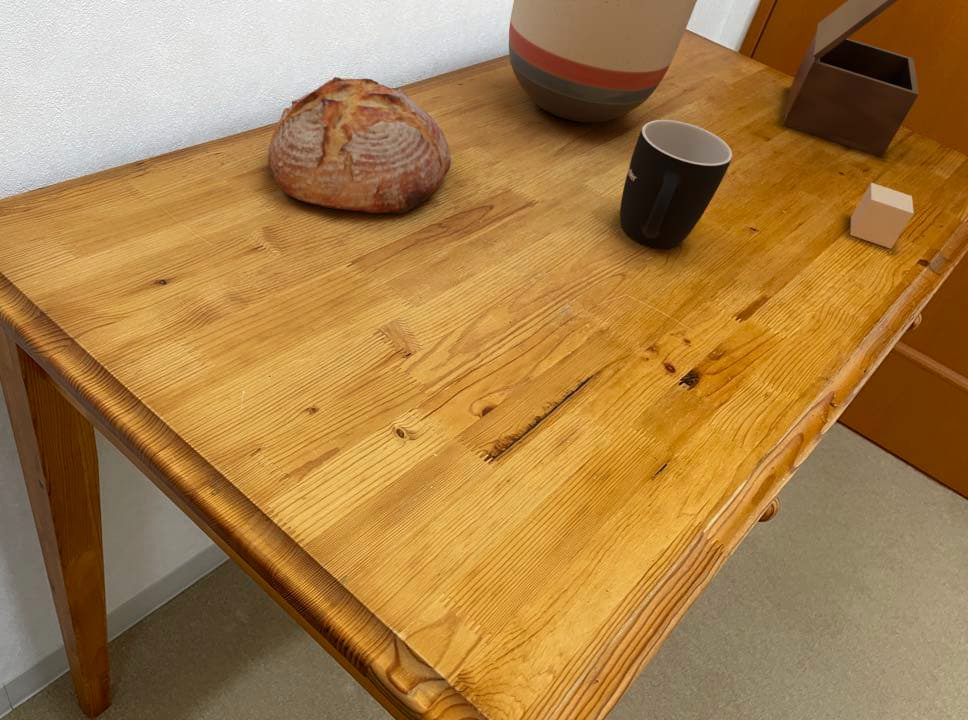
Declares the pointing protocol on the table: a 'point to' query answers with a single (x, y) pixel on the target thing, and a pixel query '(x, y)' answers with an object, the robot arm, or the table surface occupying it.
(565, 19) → the planter
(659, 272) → the table surface
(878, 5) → the lid
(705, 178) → the mug
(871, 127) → the chest
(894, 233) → the block
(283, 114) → the bread
